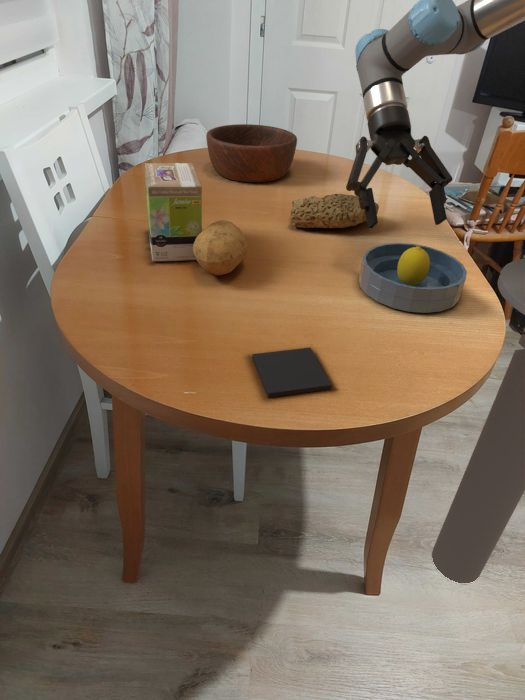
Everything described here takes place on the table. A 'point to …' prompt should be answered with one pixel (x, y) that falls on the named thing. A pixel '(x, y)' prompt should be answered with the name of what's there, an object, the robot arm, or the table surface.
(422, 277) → the lemon
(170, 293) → the table surface
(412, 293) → the basin
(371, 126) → the robot arm
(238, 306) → the table surface
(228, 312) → the table surface
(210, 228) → the potato
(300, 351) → the mat
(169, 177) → the tea box
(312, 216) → the sponge
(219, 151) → the wooden bowl
